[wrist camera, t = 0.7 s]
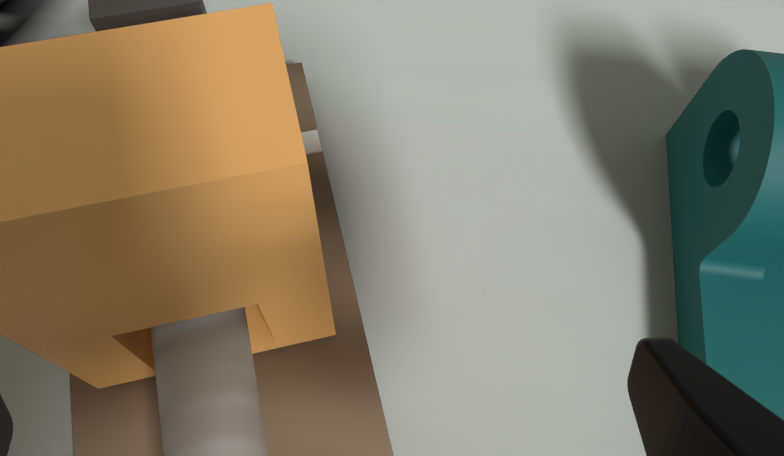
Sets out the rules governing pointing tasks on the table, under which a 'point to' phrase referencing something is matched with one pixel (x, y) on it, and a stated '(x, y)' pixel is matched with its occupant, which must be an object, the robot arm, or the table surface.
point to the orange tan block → (154, 192)
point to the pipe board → (285, 376)
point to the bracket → (732, 223)
